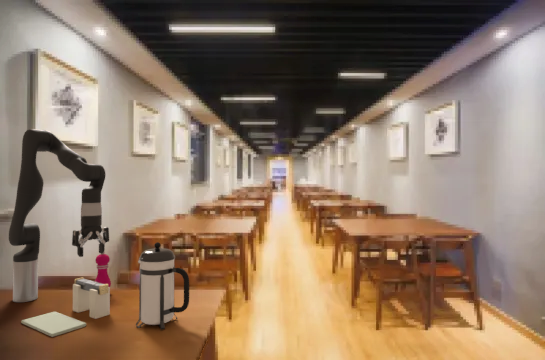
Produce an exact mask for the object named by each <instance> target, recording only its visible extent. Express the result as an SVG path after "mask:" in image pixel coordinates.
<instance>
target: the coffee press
mask: <svg viewBox="0 0 545 360" xmlns="http://www.w3.org/2000/svg"><path fill="white" fill-rule="evenodd" d="M161 246H162V245H161V243H160V241H159V242H155V243H154V244H153V247H154V248H149V249H145V250H144V251H142V252H141V254H140V256H139V257H138V261H137V263H138V264H139V291H138V292H139V303H138V306H139V309H138V310H139V311H138V312H139V313H138V320H137V322H136V323H135V326H136V328H138V329H140V328H141V327H142V325H150V326H151V325H152V326H156V325H158V327H159V330H160V329H161V330H160V331H163V330H162V329H164V330H166V326H165V324H166V323H168V322H170V321H171V320H173V318H174V317H175V318H176V319H177V320H178V317H177V316H176V314H175V313H182V312H184V311H186V309H187V308H188V307H189V303H190V277H189V274H188V272H187V271H186V270H185V269H183V268H180V267H176V266H175V259H176V255H175V253H174V251H173V250H171V249H169V248H165V247H164V248H163V247H161ZM175 273H176V274H180V275H181V277H182V279H183V303H182V305H181V307H179V306H178V307H175ZM173 321H174V320H173ZM140 322H141V323H140ZM139 323H140V324H139Z"/></svg>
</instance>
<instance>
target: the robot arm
mask: <svg viewBox="0 0 545 360" xmlns="http://www.w3.org/2000/svg"><path fill="white" fill-rule="evenodd" d="M37 152H38V153H39V152H42V153H43V152H45V153H46V152H48V153H51V154H54V155H55V156H56V157H57V159H58V162H59V163H60V164H61V165H62V166H63V167H65V168H66V169H68V170H70V171H71V172H72V173H73V175H74V176H75V177H76V179H78V180H80V181H82V182H86V183H87V182H90V183H89V186H88V187H85V188H83V189H82V191H81V204H80V227H81V228H80V229H79V230H77V229H74V230H72V236H71V238H72V239H71V245H72V246H74V247H76V248H77V249H76V250H77V251H76V253H77V256H78V257H80V258H83V257H84V246H85V244H86V243H87V242H88V241H92V240H95V241H97V242H98V243H99V244H98V253H99V254H101V253H103V252H105V250H106V249H105V244H106V243H108V242H110V229H109V227H108V226H107V227H106V226H103V227H102V222H103V221H102V220H103V219H102V218H103V217H102V213H103V211H102V210H103V207H102V190H103V187H104V183H105V180H106V170H105V168H104V166H102V165H101V164H98V163H97V164H95V163H88V161H87V160H86V158H85V157H83V156H82V155H80V154H79V153H77V152H75V151H74V150H72V149H71V148H70V147H68V146H67V145H66V144H65V143H64V142H63V141H62V140H60V138H58V136H56V135H55V134H54V133H53V132H52V131H50V130H45V129H37V128H36V129H35V128H30V129H26V131H25V132H24V133H23V137H22V141H21V161H20V171H19V178H18V183H17V189H16V196H15V205H14V209H13V214H12V217H11V222H10V226H9V229H8V242H9V244H10V245H11V246H12V247H13V246H14V247H19V246H25V247H24V248H23V249H21V250H19V251H18V252H16V253H15V254H14V255H12V256H13V257H12V302H14V303H25V302H32V301H34V300H37V299H38V298H39V297H38V296H39V295H38V294H39V288H38V287H39V253H40V243H41V241H40V240H41V229H40V227H39V225H38V224H37V223H36V222H30V223H25V221H26V219H27V216H29V213H30V212H31V211H32V210H33V209H34V207H36V205H37V204H38V203H39V201H40V200H41V198H42V195H43V189H44V179H43V176H42V174H41V172H40V170H39V168H38V166H37V155H38V153H37ZM101 233H102V235H101ZM80 236H81V237H80Z"/></svg>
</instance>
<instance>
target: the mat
mask: <svg viewBox="0 0 545 360" xmlns="http://www.w3.org/2000/svg"><path fill="white" fill-rule="evenodd" d="M21 324H23V325H25V326H27V327H29V328H31V329H34V330H35V331H38V332H40V333H43V334H45V335H47V336H49V337H52V338H53V337H56V336H57V337H58V336H60V335H62V334H66V333H69V332H72V331H75V330H78V329H82V328H85V327H86V326H87V322H85V321H81V320H78V319H76V318H74V317H72V316H68V315H65V314H63V313H59V312H57V311H56V310H55V311H51V312H47V313H45V314H40V315H37V316H33V317H29V318H26V319H21Z"/></svg>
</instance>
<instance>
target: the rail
mask: <svg viewBox="0 0 545 360" xmlns="http://www.w3.org/2000/svg"><path fill="white" fill-rule="evenodd" d="M74 284H78V285H81V289H83V290H87V291H90V289H95V290H98V294H99V295H103V294H106V293H108V284H102V283H98V282H95V280H90V279H86V278H84V277H79V278H75V279H74Z"/></svg>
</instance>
